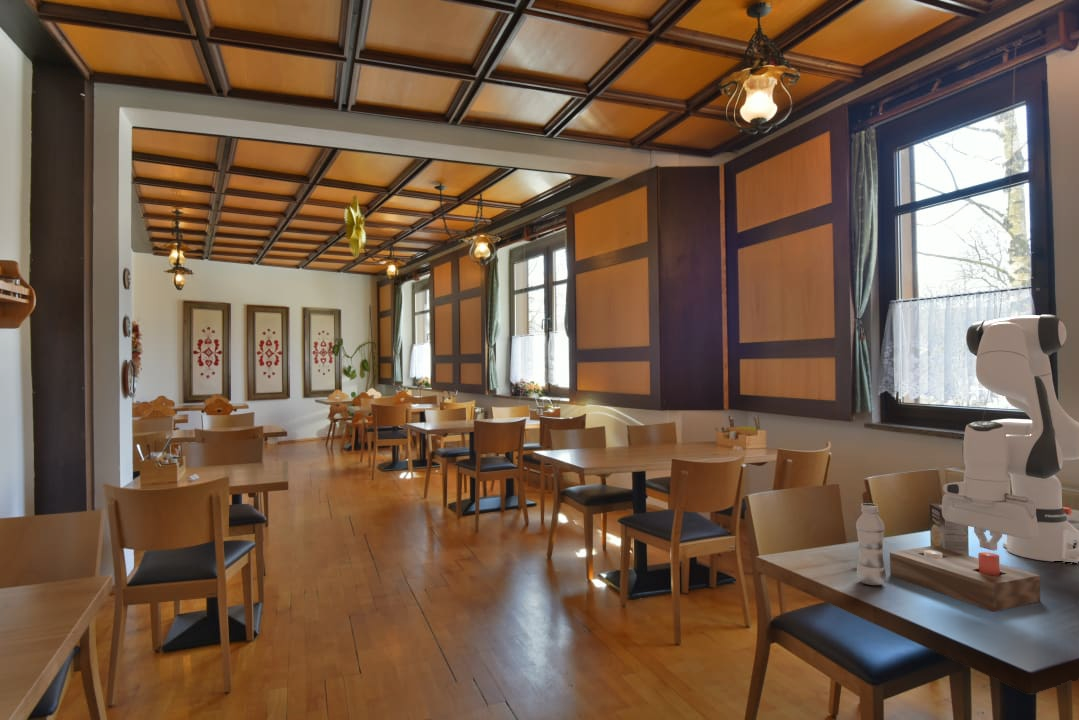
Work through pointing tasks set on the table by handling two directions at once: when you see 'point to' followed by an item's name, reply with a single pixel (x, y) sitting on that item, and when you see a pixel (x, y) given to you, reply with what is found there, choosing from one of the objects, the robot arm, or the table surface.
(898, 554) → the plug housing
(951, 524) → the coffee box
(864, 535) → the plastic bottle
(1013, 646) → the table surface
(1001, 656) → the table surface
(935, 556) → the plug
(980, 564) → the red plug
